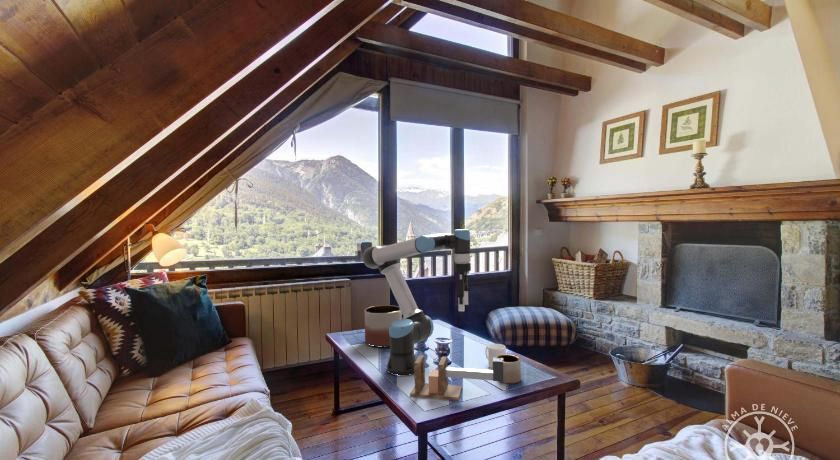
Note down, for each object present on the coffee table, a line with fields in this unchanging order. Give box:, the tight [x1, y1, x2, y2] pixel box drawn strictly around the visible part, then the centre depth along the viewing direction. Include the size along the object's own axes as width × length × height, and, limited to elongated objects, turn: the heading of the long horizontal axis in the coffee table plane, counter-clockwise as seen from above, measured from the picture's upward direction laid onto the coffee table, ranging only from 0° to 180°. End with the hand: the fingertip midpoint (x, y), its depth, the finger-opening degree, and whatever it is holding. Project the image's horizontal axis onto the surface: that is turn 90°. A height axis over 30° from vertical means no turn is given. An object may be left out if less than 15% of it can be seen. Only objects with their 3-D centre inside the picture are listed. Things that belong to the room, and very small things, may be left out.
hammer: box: [445, 358, 504, 383], centre depth 161 cm, size 24×4×8 cm, turn 76°
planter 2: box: [496, 354, 522, 385], centre depth 176 cm, size 11×11×10 cm
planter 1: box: [364, 304, 403, 348], centre depth 233 cm, size 22×22×20 cm
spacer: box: [428, 369, 439, 394], centre depth 165 cm, size 4×7×7 cm, turn 166°
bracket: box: [409, 354, 463, 401], centre depth 165 cm, size 20×11×14 cm, turn 76°
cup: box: [485, 343, 507, 370], centre depth 192 cm, size 8×12×10 cm
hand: (463, 307), depth 184 cm, fingers open, 13 cm apart
